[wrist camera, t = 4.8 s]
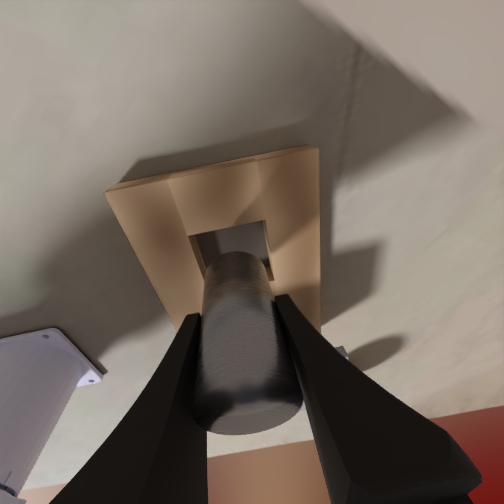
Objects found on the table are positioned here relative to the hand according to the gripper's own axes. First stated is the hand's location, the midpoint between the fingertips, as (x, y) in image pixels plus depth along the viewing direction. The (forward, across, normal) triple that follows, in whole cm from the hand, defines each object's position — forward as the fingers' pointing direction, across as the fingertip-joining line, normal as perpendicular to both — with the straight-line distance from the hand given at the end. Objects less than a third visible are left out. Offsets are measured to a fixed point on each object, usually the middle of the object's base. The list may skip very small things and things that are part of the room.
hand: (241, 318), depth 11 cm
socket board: (+7, 0, +3) cm, 8 cm away
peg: (+3, 0, 0) cm, 3 cm away
